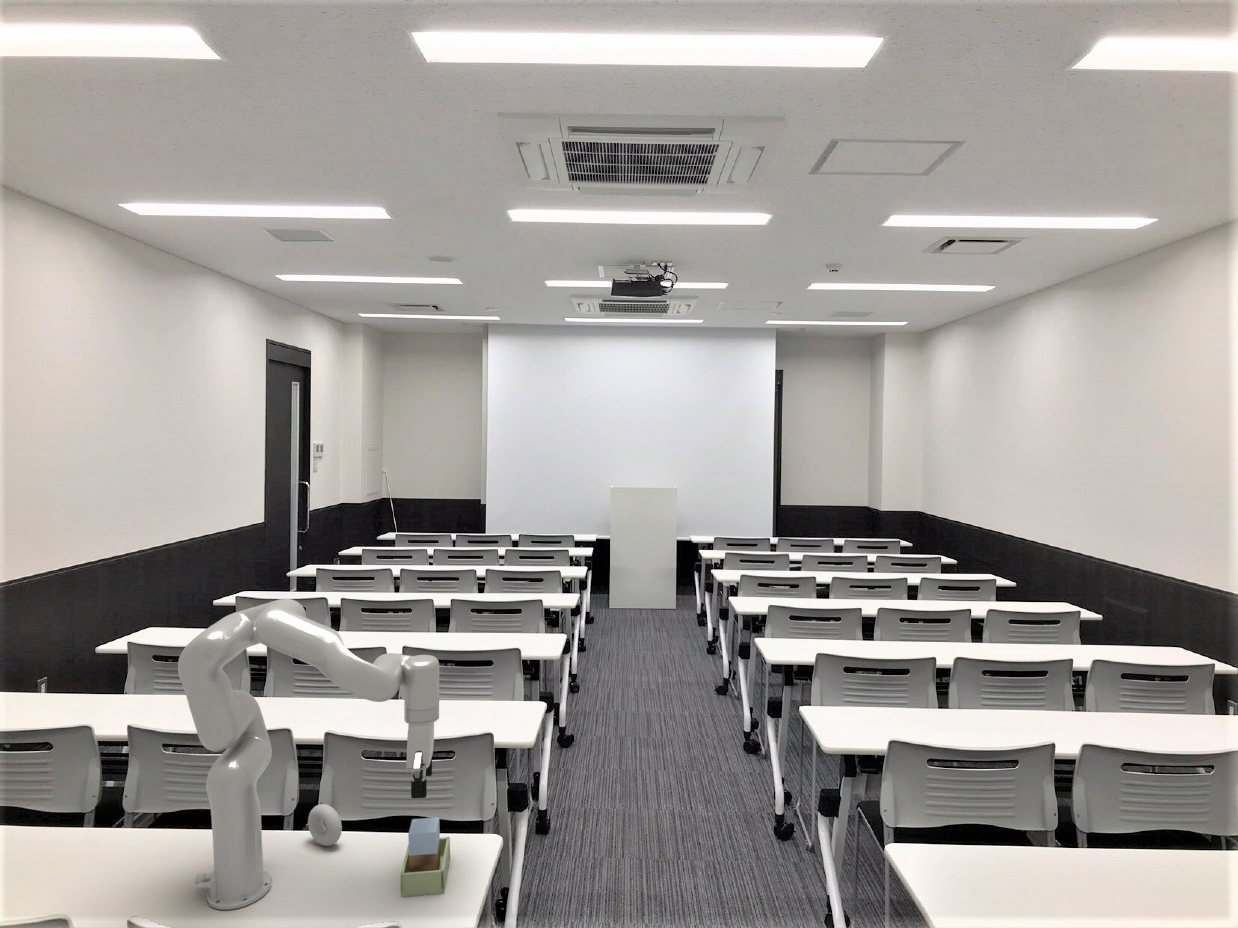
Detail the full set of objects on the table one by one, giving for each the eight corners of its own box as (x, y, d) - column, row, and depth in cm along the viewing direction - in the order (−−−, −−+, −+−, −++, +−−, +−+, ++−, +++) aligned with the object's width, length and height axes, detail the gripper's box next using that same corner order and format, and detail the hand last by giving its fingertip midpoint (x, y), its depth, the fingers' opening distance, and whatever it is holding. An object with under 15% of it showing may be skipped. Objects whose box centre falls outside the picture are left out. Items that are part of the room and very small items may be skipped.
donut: (305, 842, 182) (304, 803, 181) (317, 835, 185) (315, 796, 184) (334, 853, 177) (332, 813, 177) (345, 846, 181) (344, 806, 180)
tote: (400, 896, 162) (400, 874, 161) (410, 860, 175) (409, 839, 174) (444, 892, 163) (443, 871, 162) (450, 857, 176) (449, 836, 176)
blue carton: (408, 855, 165) (408, 833, 164) (413, 840, 171) (412, 819, 170) (436, 853, 166) (436, 831, 165) (439, 838, 172) (439, 817, 171)
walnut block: (409, 881, 165) (408, 855, 165) (413, 864, 171) (413, 839, 171) (437, 879, 166) (436, 853, 166) (440, 862, 172) (439, 837, 172)
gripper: (410, 697, 174) (410, 768, 175) (398, 729, 157) (398, 807, 158) (443, 696, 175) (443, 767, 176) (434, 727, 158) (434, 805, 159)
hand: (421, 786), depth 167 cm, fingers open, 9 cm apart
